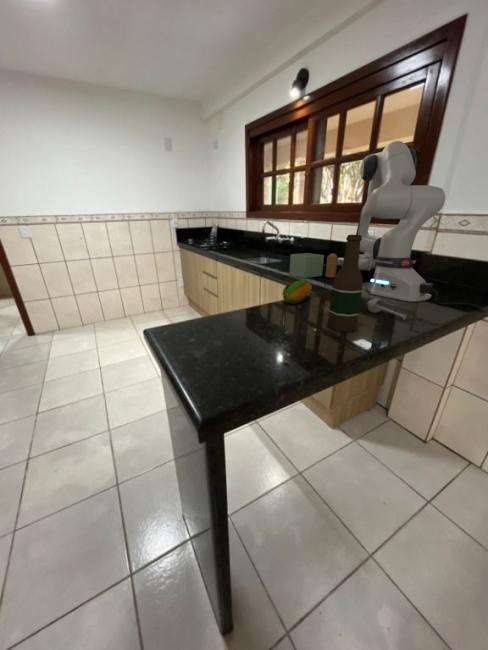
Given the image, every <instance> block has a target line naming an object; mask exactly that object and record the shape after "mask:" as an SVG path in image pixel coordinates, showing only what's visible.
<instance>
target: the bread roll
mask: <svg viewBox="0 0 488 650" xmlns="http://www.w3.org/2000/svg"><path fill="white" fill-rule="evenodd" d="M338 258H339V257H338V255H337V254H336V253H330V254H329V255H327V257H326V266H325V267H326V268H325V275H324V276H325V277H326V278H335V277H336V275H337V267H338V265H337V260H338Z"/></svg>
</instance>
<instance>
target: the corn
mask: <svg viewBox="0 0 488 650" xmlns="http://www.w3.org/2000/svg"><path fill="white" fill-rule="evenodd" d="M307 281H308V280H307V279H300V280H297V281H294V282H292V283H288V284H287V285H285V286H284V288H283V289H282V290H283V291H282V293H281V294H282V297H283V298H282V299H283V301H284V302H285V303H287V304H291V305H297V304H299V303H302V302H303V301H305V300H306V299H308V298H309V296H310V294H311V292H312V289H313V286H312V284H311V283H309V282H307Z"/></svg>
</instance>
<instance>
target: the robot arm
mask: <svg viewBox="0 0 488 650" xmlns="http://www.w3.org/2000/svg"><path fill="white" fill-rule="evenodd" d="M417 157H418V156H417V151H416V150H415V149H414V148H410V147H408V146H407V145H406V143H405V142H403V141H401V140H395V141H392V142H389V143H388V144H387V145H386V146H385V147H384V148H383V150H382V151H380V152H377V153H371V154H368V155H366V156H365V157H364V158H363V159H362V161H361V163H360V166H359V174H360V177H361V179H362V181H364V182H369V184H368V189H367V197H366V201H365V204H363V206H362V208H361V210H360V213H359V219H358V223H357V227H356V232H355V233H356V234H355V235H361V236H362V240H361V241H360V251H359V262H358V263H359V270H360V272H361V271H363V272H364V271H365V272H369V271H371V270H374V273H373V276H372V278H371V279H370V284H369V286H368V288H367V291H368V292H369V294H370V295H374V296H379V297H384V298H389V299H394V300H398V301H399V300H400V301H404V302H405V301H406V302H409V303H411V302H413V303H414V302H415V303H416V302H425V301H429V300H431V299H432V294H430V293H432V292H433V293H434V294H435V297H434V299H433V300H434V304H436V305H440V306H441V305H442V306H452V305H457V306H466V307H467V306H469V307H474V308H476V309H478V310H479V311H480V313H484V314H485V313H486V311H485V310H484V308H482V307H481V306H479V305H478V304H475V303H470V302H459V301H457V302H455V301H454V302H453V301H452V302H443V301H442V302H441V301H438V297H439V292H438V291H437V290H436V289H434V288H433V287H434V283H432V282H431V283H430V282H426V279H424V278H423V277H422V276H421V275H420V274H419V273H418V272H417V271H416V270H415V269H414V268H413V265H414V264H415V263H416V262H417V260H416V259H415V260H413V259H412V257H411V254H412V249H413V245H414V243H415V241H416V240H415V239H416V237H417V235H418V232H419V231H420V230H421V228H422V227H423V225H425V224H426V223H427V222H428V221H429V220H431V218H433V217H435V216H437V214H439V212H440V211H441V210H442V208H443V207H444V205H445V203H446V202H445V201H446V194H445V191H444V188H442V187H438V186H434V185H428V184H427V185H426V184H424V185H422V184H421V185H412V183H413V182H414V181H415V178H416V175H417V172H416V165H417V161H418V159H417ZM372 218H377V219H382V220H389V219H390V220H391V219H392V220H397V219H399V222H398V224H397V225H396V226H395V227H394V228H391V229H389V230H388V231H386V232H385V233H384V234H382V236H376V235H371V234H369V228H370V224H371V220H372ZM361 253H362V254H361ZM343 260H344V257H338V260H337V266H338V267H339V266H340V267H342V264H343Z"/></svg>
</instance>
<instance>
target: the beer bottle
mask: <svg viewBox="0 0 488 650" xmlns="http://www.w3.org/2000/svg"><path fill="white" fill-rule="evenodd" d="M345 240H346V244H345V250H344V255H343V258H344V260H343V264H342V266H341V268H340V269H339V270H338V271H337V272H336V277H334V279H333V281H332V285H331V294H330V300H329V301H330V303H329V311H328V319H327V327H328V328H329V329H331V330H333V331H335V332H342V333H350V332H354V331H356V328H357V324H358V319H359V318H358V317H359V311H360V305H361V299H362V293H363V286H364V285H363V284H364V279H363V274H362V272H361V271H360V270H359V263H358V262H359V254H360V252H359V251H360V241H361V240H362V236H361V235H356V234H348V235H347V236H346V238H345Z"/></svg>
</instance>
